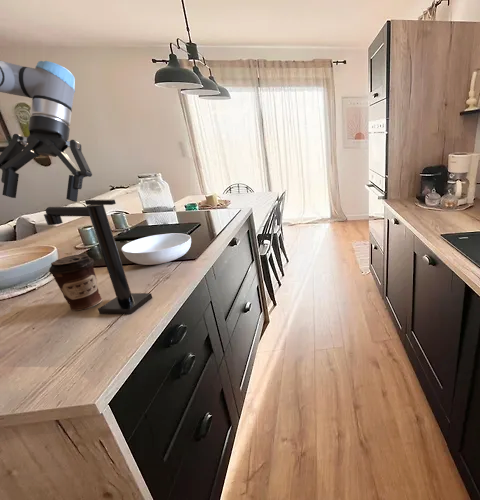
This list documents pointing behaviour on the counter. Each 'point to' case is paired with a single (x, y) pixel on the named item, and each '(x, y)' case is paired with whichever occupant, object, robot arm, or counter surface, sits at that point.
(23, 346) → the counter surface
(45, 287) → the counter surface
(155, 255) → the serving bowl
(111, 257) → the tap
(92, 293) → the coffee cup
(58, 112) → the robot arm
